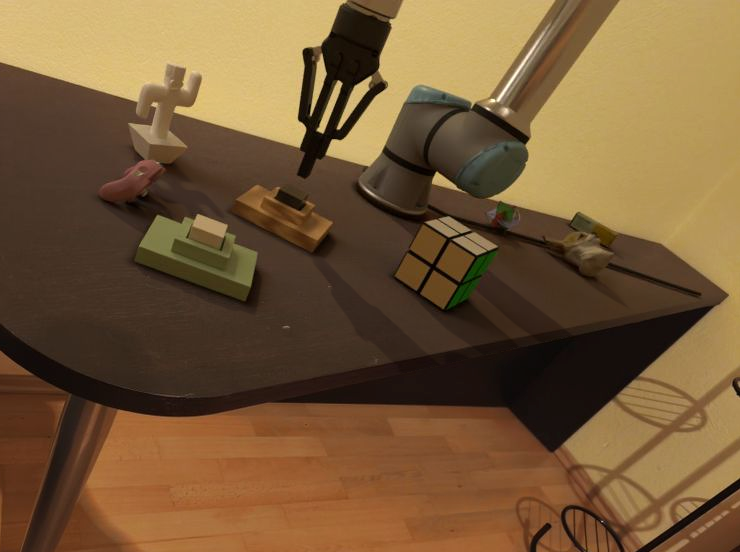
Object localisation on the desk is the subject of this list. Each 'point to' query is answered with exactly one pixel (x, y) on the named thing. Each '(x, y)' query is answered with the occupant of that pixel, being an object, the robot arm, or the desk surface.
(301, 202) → the black key
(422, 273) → the puzzle cube
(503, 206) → the geometric puzzle
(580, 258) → the ceramic sculpture
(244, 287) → the green stepped button base
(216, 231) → the white key
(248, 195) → the wooden socket base
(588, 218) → the medication box
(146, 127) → the figurine
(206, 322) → the desk surface
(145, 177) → the pink rounded piece
